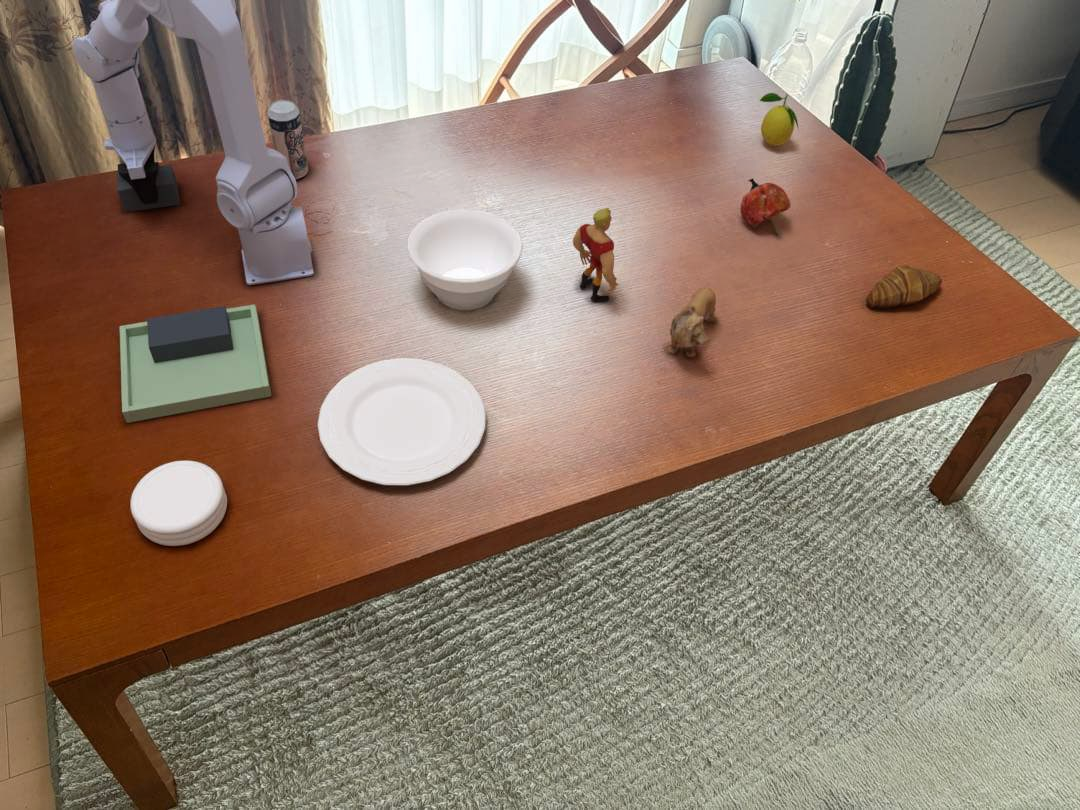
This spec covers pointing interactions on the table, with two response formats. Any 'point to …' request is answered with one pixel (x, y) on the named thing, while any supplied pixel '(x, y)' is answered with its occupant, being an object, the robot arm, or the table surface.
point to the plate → (401, 422)
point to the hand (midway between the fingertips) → (149, 191)
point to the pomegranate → (763, 203)
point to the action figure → (597, 253)
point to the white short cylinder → (178, 503)
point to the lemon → (777, 121)
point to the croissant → (903, 287)
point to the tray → (193, 372)
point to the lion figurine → (692, 322)
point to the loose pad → (165, 191)
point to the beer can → (288, 135)
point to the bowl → (464, 255)
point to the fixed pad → (189, 334)
